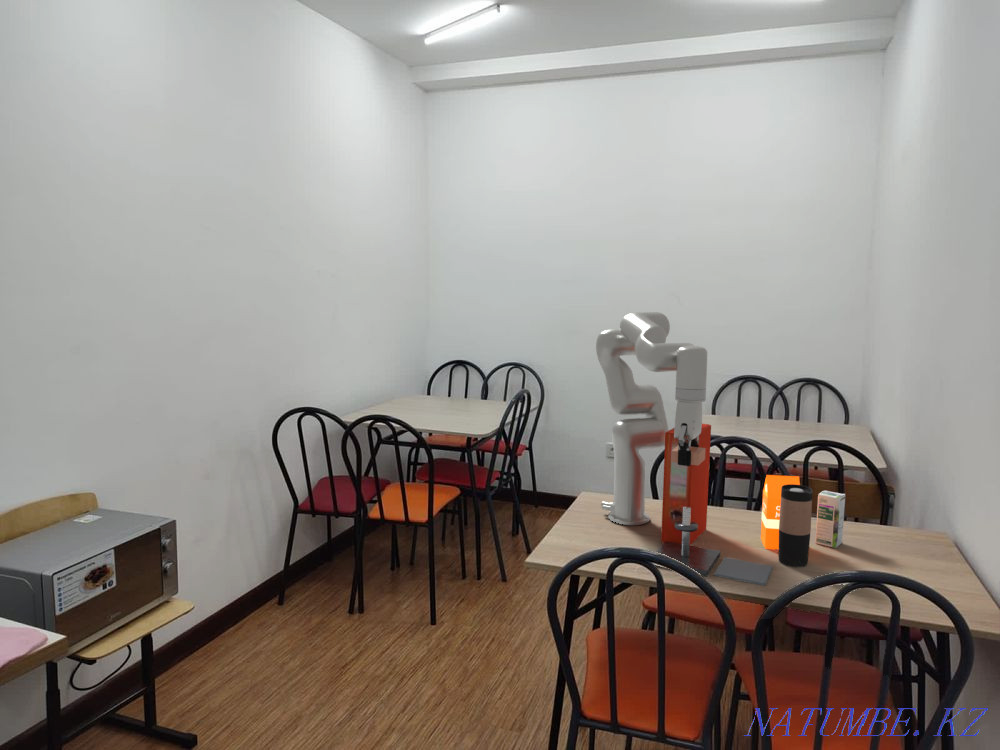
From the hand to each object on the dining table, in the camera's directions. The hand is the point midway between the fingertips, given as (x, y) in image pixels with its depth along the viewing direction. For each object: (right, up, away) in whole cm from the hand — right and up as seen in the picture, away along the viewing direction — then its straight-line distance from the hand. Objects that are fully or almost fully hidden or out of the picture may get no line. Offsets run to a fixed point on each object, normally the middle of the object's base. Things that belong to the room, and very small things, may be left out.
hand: (688, 461), depth 183 cm
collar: (0, 0, 0) cm, 0 cm away
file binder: (+5, -25, +21) cm, 33 cm away
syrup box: (+44, -25, +15) cm, 53 cm away
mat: (+13, -28, -4) cm, 31 cm away
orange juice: (+29, -25, +14) cm, 41 cm away
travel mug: (+28, -27, +2) cm, 39 cm away
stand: (0, -27, +3) cm, 27 cm away
